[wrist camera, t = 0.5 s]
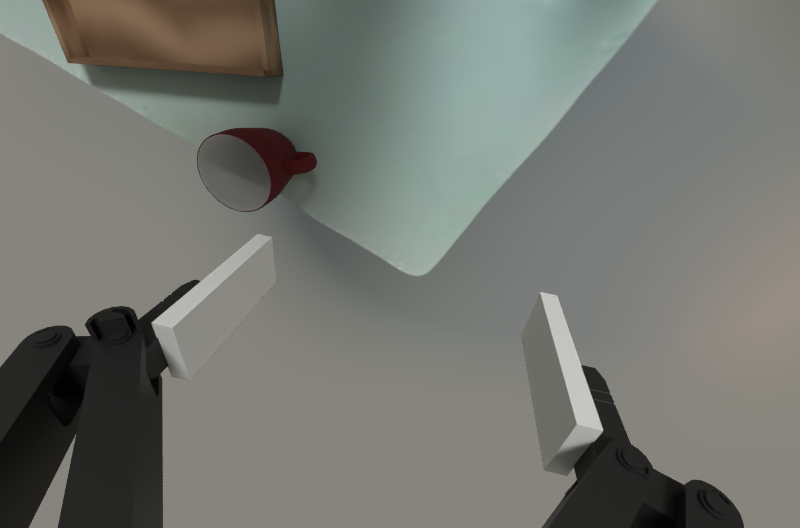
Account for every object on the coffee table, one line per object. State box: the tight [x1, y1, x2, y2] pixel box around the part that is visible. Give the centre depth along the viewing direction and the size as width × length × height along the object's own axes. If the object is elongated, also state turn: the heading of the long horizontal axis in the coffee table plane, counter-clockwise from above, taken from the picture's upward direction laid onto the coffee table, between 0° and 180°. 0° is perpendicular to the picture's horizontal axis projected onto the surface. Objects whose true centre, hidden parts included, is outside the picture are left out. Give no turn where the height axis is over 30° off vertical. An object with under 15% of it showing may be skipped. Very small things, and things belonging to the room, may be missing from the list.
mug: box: [197, 128, 317, 212], centre depth 38 cm, size 11×8×10 cm
